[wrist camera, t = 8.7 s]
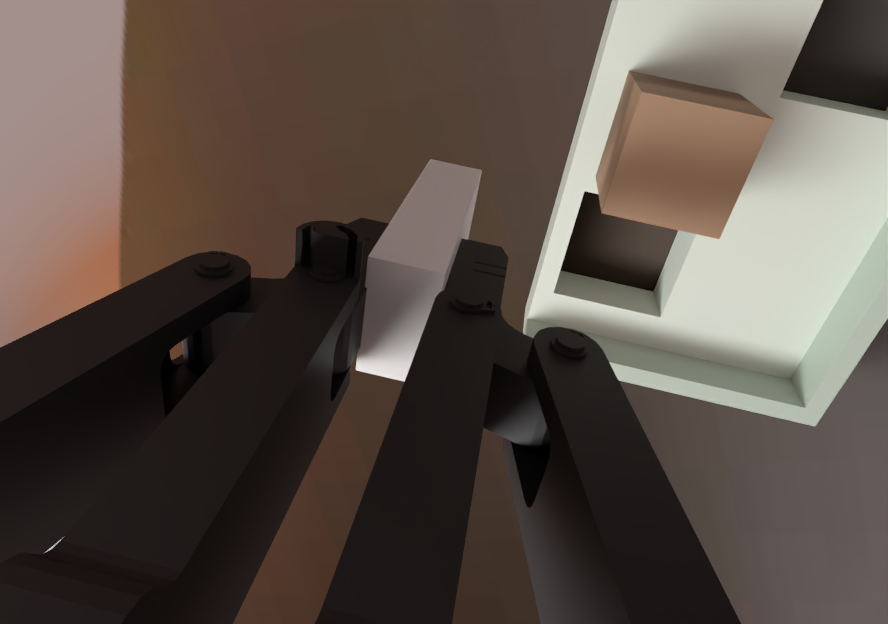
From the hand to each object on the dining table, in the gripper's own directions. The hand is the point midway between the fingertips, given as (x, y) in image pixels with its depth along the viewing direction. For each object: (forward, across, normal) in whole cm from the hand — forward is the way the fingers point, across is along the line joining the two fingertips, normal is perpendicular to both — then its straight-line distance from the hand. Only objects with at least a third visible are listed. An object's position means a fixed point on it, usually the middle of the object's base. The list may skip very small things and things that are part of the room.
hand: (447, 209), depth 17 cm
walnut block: (+13, +8, 0) cm, 16 cm away
